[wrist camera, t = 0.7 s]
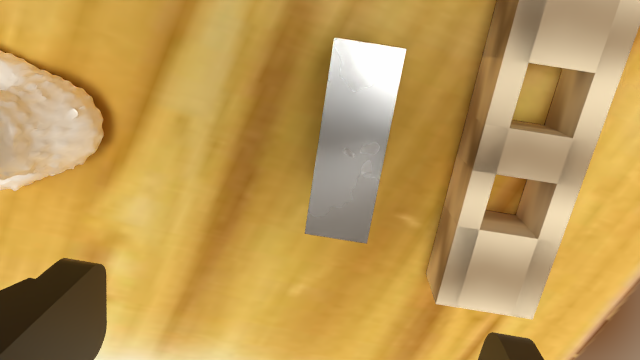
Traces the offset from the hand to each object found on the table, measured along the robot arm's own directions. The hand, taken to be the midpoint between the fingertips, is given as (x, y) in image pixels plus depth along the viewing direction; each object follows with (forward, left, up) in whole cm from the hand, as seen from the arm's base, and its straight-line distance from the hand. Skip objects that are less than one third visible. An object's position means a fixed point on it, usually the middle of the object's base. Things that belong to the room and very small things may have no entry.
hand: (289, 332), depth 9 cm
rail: (-1, +11, -19) cm, 22 cm away
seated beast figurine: (+2, -18, -20) cm, 27 cm away
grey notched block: (-1, +1, -19) cm, 19 cm away
